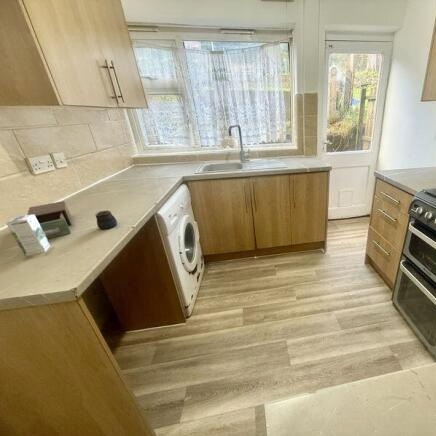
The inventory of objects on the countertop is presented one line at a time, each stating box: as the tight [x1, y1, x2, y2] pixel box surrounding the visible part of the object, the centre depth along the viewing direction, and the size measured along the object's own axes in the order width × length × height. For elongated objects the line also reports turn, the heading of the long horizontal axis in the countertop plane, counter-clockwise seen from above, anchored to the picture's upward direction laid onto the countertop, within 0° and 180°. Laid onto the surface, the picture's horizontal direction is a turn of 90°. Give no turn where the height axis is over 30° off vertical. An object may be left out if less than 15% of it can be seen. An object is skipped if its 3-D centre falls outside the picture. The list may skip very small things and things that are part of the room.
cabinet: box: [26, 200, 73, 227], centre depth 114 cm, size 17×13×9 cm
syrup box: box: [6, 214, 51, 257], centre depth 90 cm, size 6×6×14 cm
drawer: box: [36, 212, 71, 240], centre depth 105 cm, size 20×11×7 cm, turn 42°
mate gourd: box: [95, 210, 118, 231], centre depth 109 cm, size 7×8×10 cm
